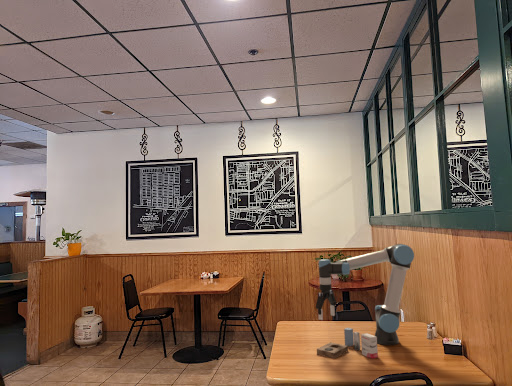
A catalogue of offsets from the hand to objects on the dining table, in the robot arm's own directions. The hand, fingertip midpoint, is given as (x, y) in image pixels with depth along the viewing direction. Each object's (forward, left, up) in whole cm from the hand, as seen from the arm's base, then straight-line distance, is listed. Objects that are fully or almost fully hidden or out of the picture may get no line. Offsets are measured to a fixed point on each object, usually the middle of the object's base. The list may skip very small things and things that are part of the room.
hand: (326, 317), depth 236 cm
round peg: (-17, -5, -18) cm, 25 cm away
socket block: (-8, +9, -18) cm, 21 cm away
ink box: (-28, +1, -18) cm, 34 cm away
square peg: (-9, -10, -18) cm, 23 cm away
